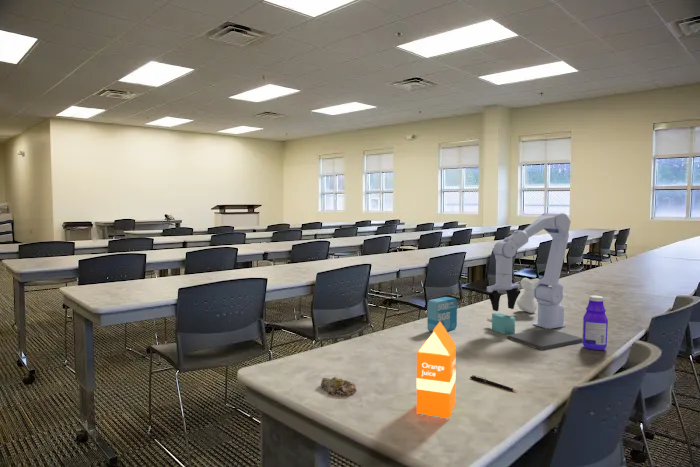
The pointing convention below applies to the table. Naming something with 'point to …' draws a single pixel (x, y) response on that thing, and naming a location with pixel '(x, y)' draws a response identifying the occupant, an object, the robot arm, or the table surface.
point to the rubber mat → (545, 338)
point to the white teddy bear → (528, 295)
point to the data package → (442, 313)
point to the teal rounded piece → (502, 323)
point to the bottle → (595, 324)
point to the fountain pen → (491, 383)
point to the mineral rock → (338, 386)
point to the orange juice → (436, 374)
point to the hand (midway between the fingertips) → (503, 309)
